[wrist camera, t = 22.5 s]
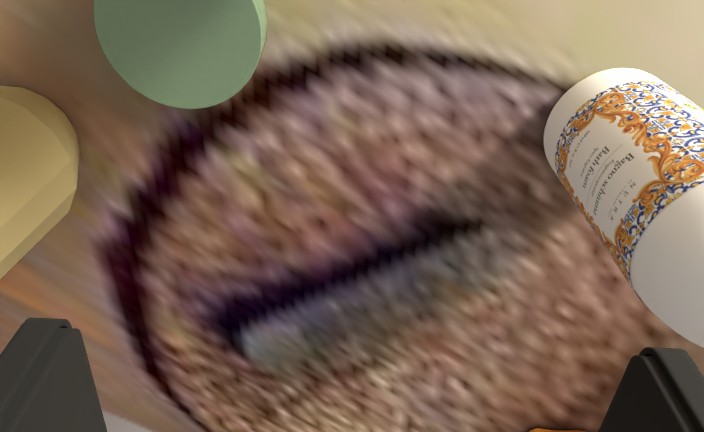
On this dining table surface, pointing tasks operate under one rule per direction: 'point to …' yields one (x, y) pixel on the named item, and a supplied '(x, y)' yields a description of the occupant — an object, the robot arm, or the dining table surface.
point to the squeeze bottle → (33, 170)
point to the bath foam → (638, 184)
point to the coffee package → (544, 431)
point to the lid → (182, 47)
